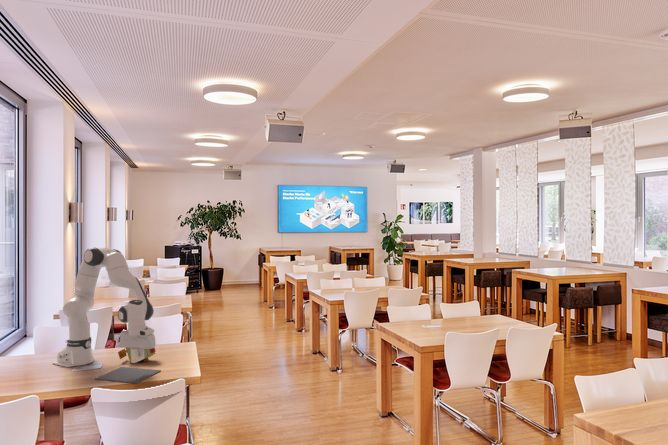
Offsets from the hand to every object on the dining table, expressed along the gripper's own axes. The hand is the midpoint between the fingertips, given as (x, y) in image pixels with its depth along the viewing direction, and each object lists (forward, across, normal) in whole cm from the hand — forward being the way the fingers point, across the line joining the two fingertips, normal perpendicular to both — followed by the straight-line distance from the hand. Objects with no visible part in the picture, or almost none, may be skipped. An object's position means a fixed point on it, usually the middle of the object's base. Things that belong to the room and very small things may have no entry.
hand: (137, 356), depth 263 cm
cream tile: (+2, 0, 0) cm, 2 cm away
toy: (+10, -16, +21) cm, 28 cm away
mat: (+10, -4, -2) cm, 11 cm away
